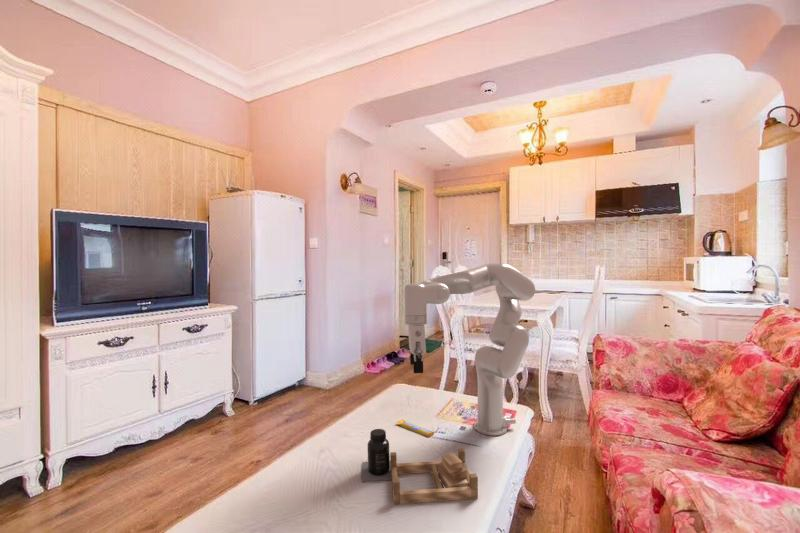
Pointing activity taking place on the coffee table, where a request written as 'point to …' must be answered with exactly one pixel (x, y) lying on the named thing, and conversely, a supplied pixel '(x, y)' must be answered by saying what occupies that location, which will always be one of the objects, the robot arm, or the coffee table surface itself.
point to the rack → (439, 492)
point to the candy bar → (415, 428)
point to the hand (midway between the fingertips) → (416, 368)
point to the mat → (373, 478)
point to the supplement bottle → (378, 453)
